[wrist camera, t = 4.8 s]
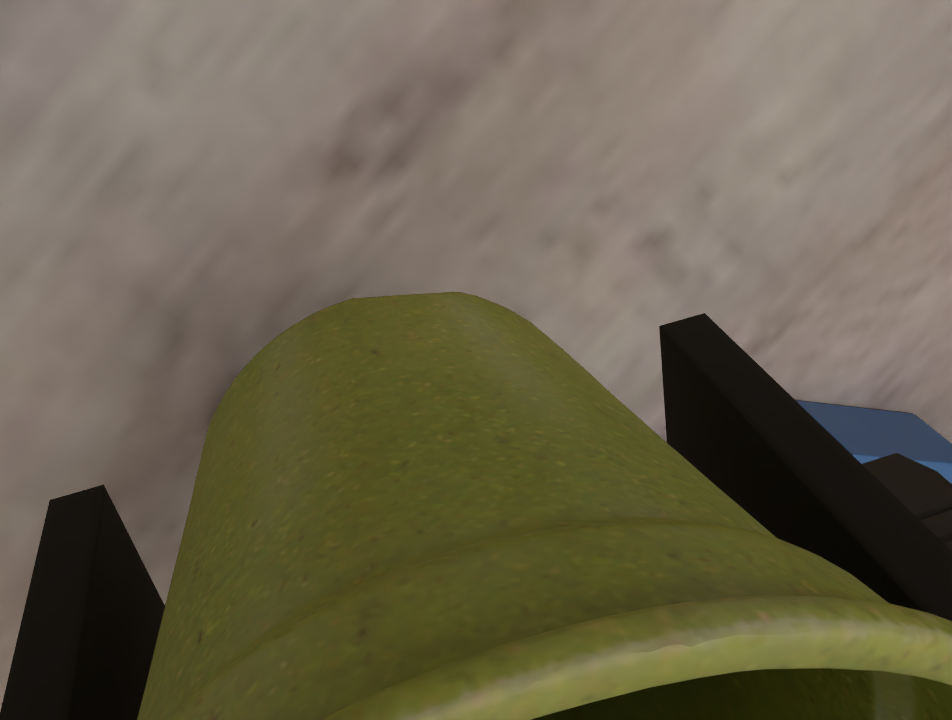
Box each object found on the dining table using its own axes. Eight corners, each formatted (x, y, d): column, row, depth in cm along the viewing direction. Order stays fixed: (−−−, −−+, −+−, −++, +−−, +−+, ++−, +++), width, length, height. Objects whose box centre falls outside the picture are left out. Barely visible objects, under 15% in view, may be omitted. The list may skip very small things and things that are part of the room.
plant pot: (391, 13, 11) (733, 343, 4) (774, 403, 16) (1245, 876, 9) (-53, 510, 13) (-382, 1369, 6) (411, 727, 18) (552, 1342, 11)
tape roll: (813, 299, 26) (880, 348, 23) (1041, 558, 35) (1107, 614, 32) (400, 691, 29) (419, 771, 27) (704, 836, 38) (740, 907, 35)
